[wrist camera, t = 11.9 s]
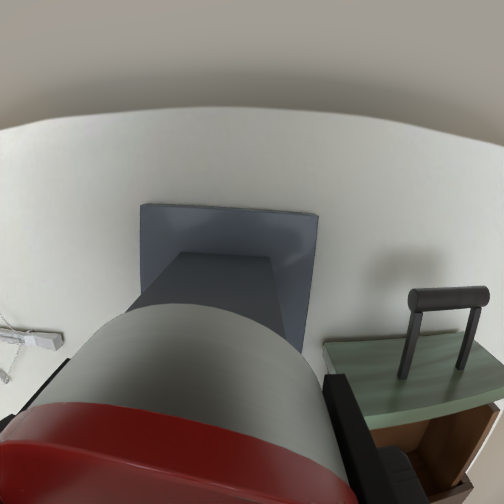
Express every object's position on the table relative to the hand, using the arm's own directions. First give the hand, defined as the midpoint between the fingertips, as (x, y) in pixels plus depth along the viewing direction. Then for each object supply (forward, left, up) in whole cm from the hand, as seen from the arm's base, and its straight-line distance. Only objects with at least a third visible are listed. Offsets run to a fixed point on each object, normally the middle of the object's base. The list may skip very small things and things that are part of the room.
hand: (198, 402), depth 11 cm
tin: (0, 0, +1) cm, 1 cm away
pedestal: (0, 0, -13) cm, 13 cm away
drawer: (-5, +16, -12) cm, 20 cm away
